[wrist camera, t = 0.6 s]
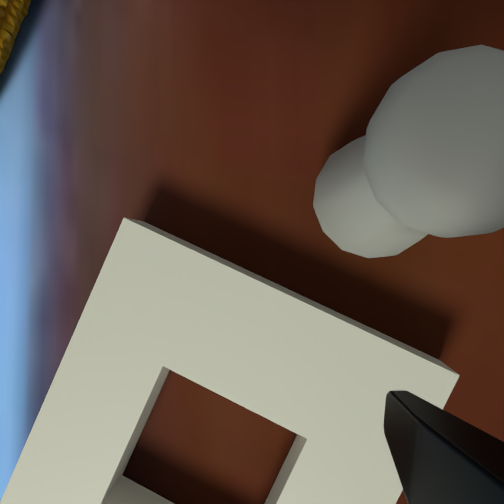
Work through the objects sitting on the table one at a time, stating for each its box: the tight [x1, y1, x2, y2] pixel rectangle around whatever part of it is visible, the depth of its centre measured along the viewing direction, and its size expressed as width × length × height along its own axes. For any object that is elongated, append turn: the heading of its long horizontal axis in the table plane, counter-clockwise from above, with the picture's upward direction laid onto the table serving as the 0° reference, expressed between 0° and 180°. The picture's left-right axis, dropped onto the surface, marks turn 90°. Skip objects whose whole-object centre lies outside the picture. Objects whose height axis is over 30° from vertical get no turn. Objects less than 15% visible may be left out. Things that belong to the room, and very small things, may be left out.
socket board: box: [0, 218, 460, 504], centre depth 21 cm, size 18×20×2 cm
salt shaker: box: [313, 45, 504, 258], centre depth 14 cm, size 6×6×13 cm
